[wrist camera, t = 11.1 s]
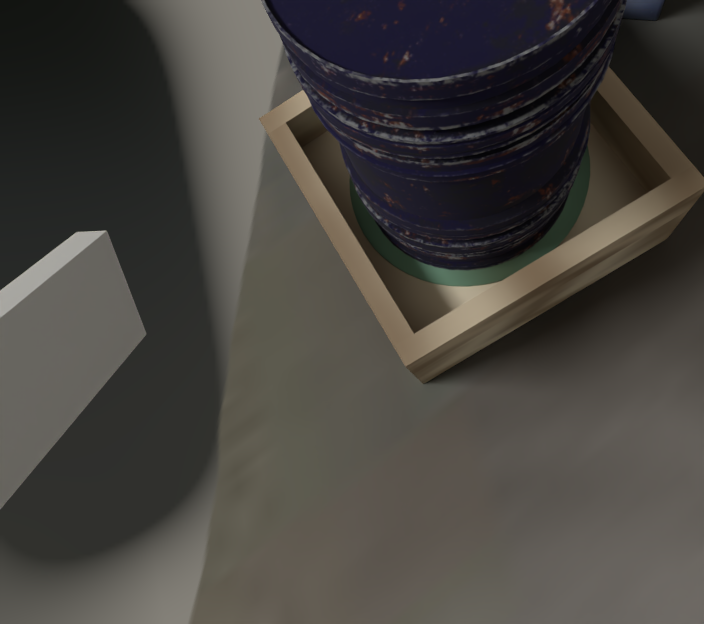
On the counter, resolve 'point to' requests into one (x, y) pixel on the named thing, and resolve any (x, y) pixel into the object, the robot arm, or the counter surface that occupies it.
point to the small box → (643, 9)
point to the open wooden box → (518, 273)
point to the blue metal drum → (455, 111)
